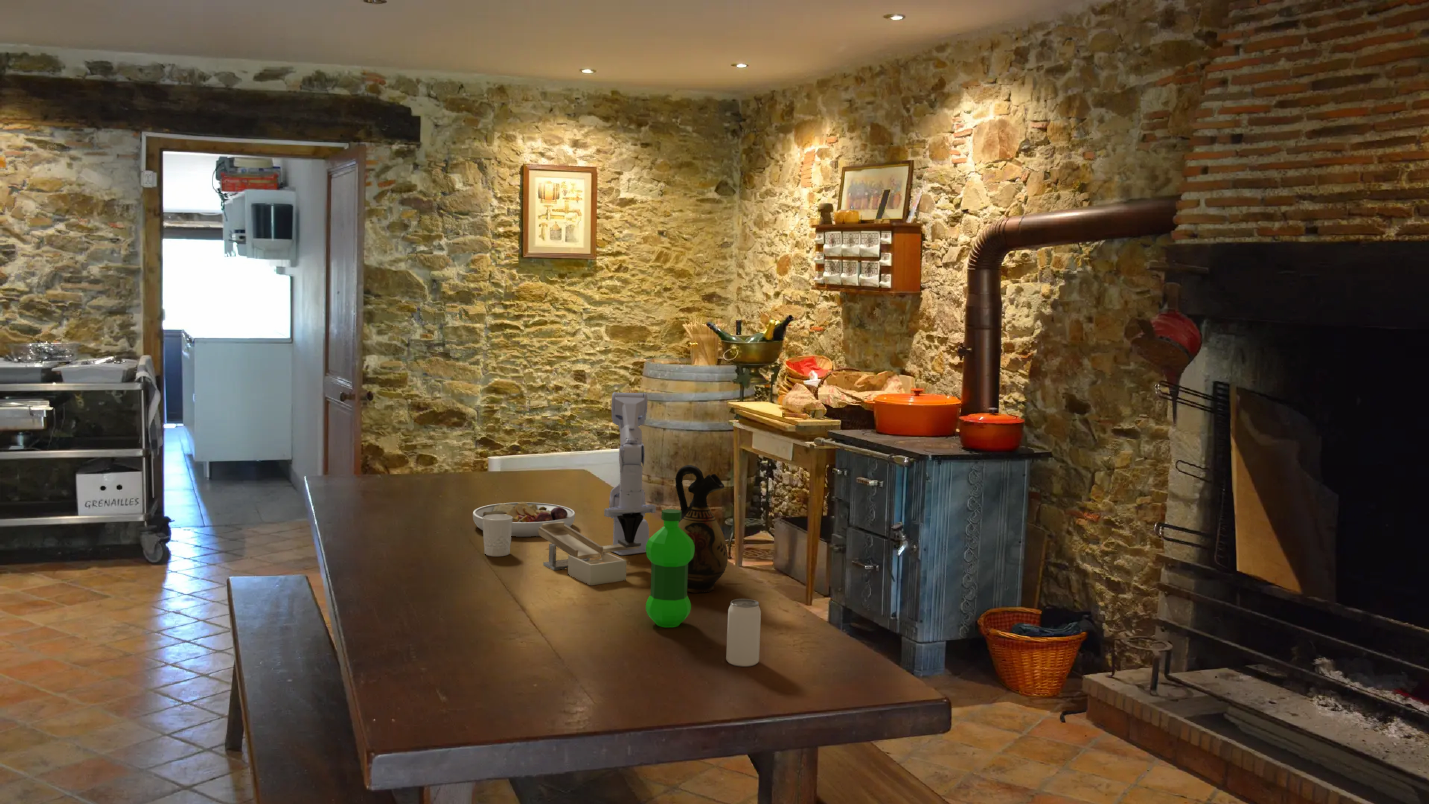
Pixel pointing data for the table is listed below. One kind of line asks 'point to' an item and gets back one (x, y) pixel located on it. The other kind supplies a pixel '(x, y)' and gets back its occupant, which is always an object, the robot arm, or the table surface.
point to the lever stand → (559, 563)
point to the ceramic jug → (702, 531)
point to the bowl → (526, 516)
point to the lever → (579, 541)
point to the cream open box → (598, 569)
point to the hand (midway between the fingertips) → (629, 542)
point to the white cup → (497, 534)
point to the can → (743, 633)
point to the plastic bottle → (669, 571)
